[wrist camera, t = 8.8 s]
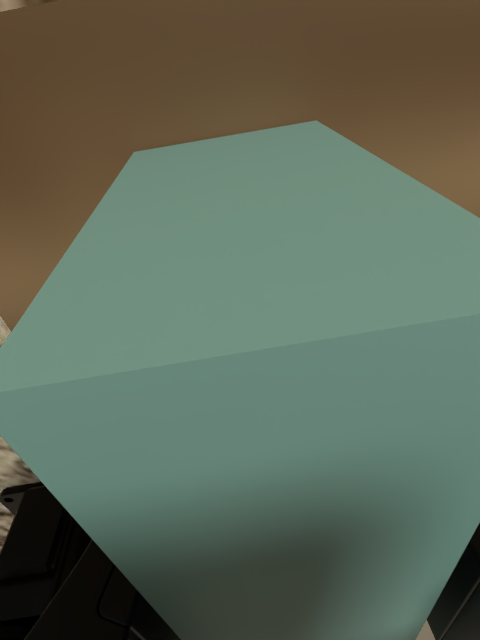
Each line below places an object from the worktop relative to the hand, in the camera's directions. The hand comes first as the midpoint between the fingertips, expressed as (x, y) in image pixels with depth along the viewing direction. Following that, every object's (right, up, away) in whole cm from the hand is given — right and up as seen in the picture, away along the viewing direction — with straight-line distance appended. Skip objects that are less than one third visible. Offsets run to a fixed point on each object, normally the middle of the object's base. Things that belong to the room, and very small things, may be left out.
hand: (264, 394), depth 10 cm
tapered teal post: (0, +1, +2) cm, 2 cm away
